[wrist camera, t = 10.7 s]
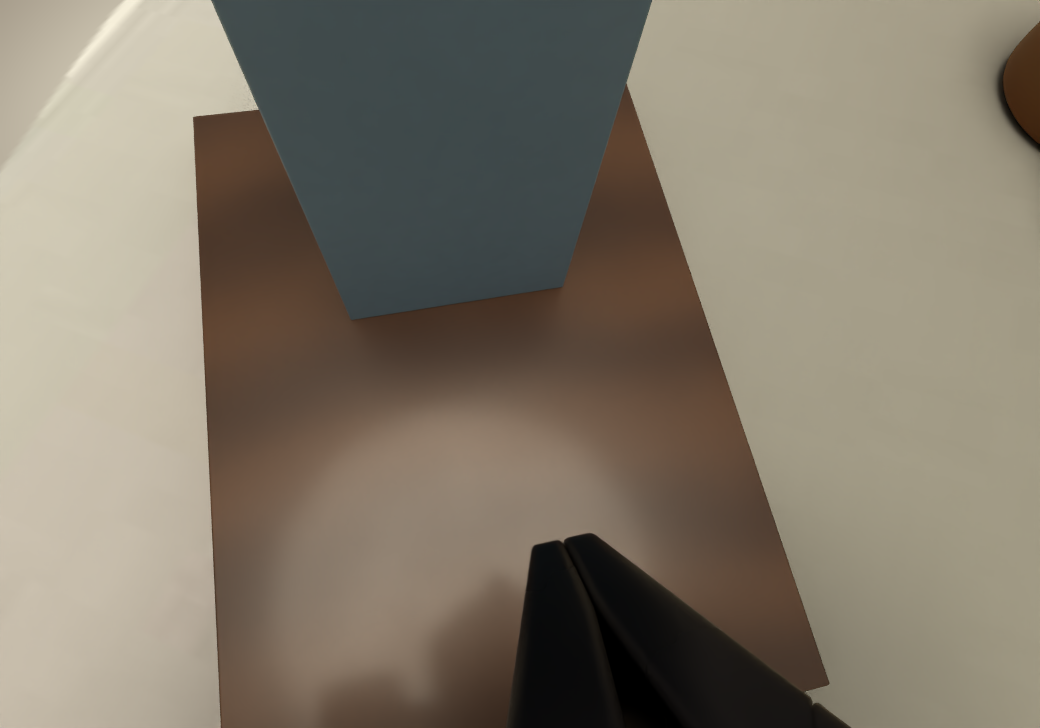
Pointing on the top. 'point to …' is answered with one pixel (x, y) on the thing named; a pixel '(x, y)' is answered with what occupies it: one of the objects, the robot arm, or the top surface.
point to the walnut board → (458, 455)
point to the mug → (1025, 83)
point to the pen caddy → (438, 134)
